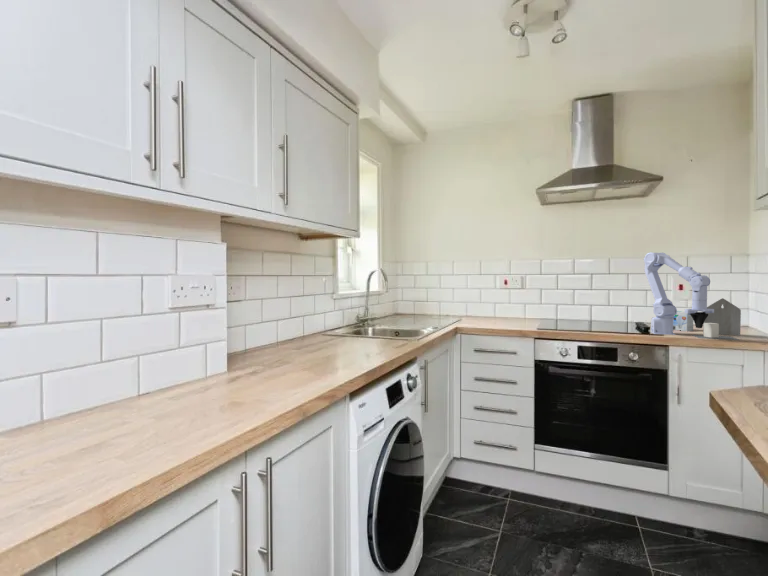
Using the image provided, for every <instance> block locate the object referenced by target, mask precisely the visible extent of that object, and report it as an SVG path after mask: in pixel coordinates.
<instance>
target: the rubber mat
mask: <svg viewBox="0 0 768 576" xmlns="http://www.w3.org/2000/svg"><path fill="white" fill-rule="evenodd" d="M691 336H693V337H695V338H698V339H704V340H705V339H708V340H711V339H712V340H726V341H727V340H728V341H729V340H730V341H740V339H738V338H735V337H732V336H731V335H729V336H728V335H719V338H707V337H704V334H703V335H702V334H691Z"/></svg>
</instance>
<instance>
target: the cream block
mask: <svg viewBox="0 0 768 576" xmlns="http://www.w3.org/2000/svg"><path fill="white" fill-rule="evenodd" d="M703 329H704V334H703V335H704V337H707V338H719V336H720V334H719V324H716V323H704V324H703Z"/></svg>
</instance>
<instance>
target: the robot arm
mask: <svg viewBox="0 0 768 576" xmlns="http://www.w3.org/2000/svg"><path fill="white" fill-rule="evenodd" d="M642 260H643V263H644V269H643V270H644V274H645V276H646V279H647V282H648V285H649V286H650V290H651V293H652V295H653V298H654V302H653V303H652V306H653V314H654V315H655V317H652V318H651V320H650V322H651V323H650V333H652V334H653V335H667V336H668V335H672V336H676V333H674V330H673V318H674V315H675V314H676V313H677V311H678V309H677V307H676V306H675V305H674V304H673V301H671V300H670V299H669V298H668V296H667V294H666V291H665V288H664V286H663V283H662V281H661V277H660V275H659V272H658V271H659V269H660V268H661V267H662V266H664V265H666V266H667V267H669V268H671V269H673V270H675V271H676V272H677V273H678V274H677V275H678V276H679V277H681V278H682V279H684V280H685V281H687V282H688V283H689V285H690V287H691V290H692V291H691V292H692V293H691V295H692V297H691V308H684V311H685V313H690V315H691V316H692V318H693V324H694V325H695V328H697V329H702V328H703V327H704V321H705V319H706V318H707V317H708V314H706V313H714V309H707V307H708V287H709V286H710V284H711V279H710V278H709V277H708V276H707V275H705V274H704V275H703V274H702V273H701V272H697V271H696V270H695V269H693V267H692V266H683V265H682V264H680V263H679V262H678V261H676V260H675V259H674V258H672V257H671V256H670V255H669V254H667V253H665V252H653V251H651V252H648V253H646V254H645V256H644V258H643V259H642Z"/></svg>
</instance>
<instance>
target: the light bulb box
mask: <svg viewBox="0 0 768 576" xmlns="http://www.w3.org/2000/svg"><path fill="white" fill-rule="evenodd" d="M678 330H681V331H680V332H686V331H687V332H693V331H694V320H693V318H692V316H691V315H690V313H685V310H684V311H683V310H677V313H676V314H675V315H674V318H673V331H678Z"/></svg>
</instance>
